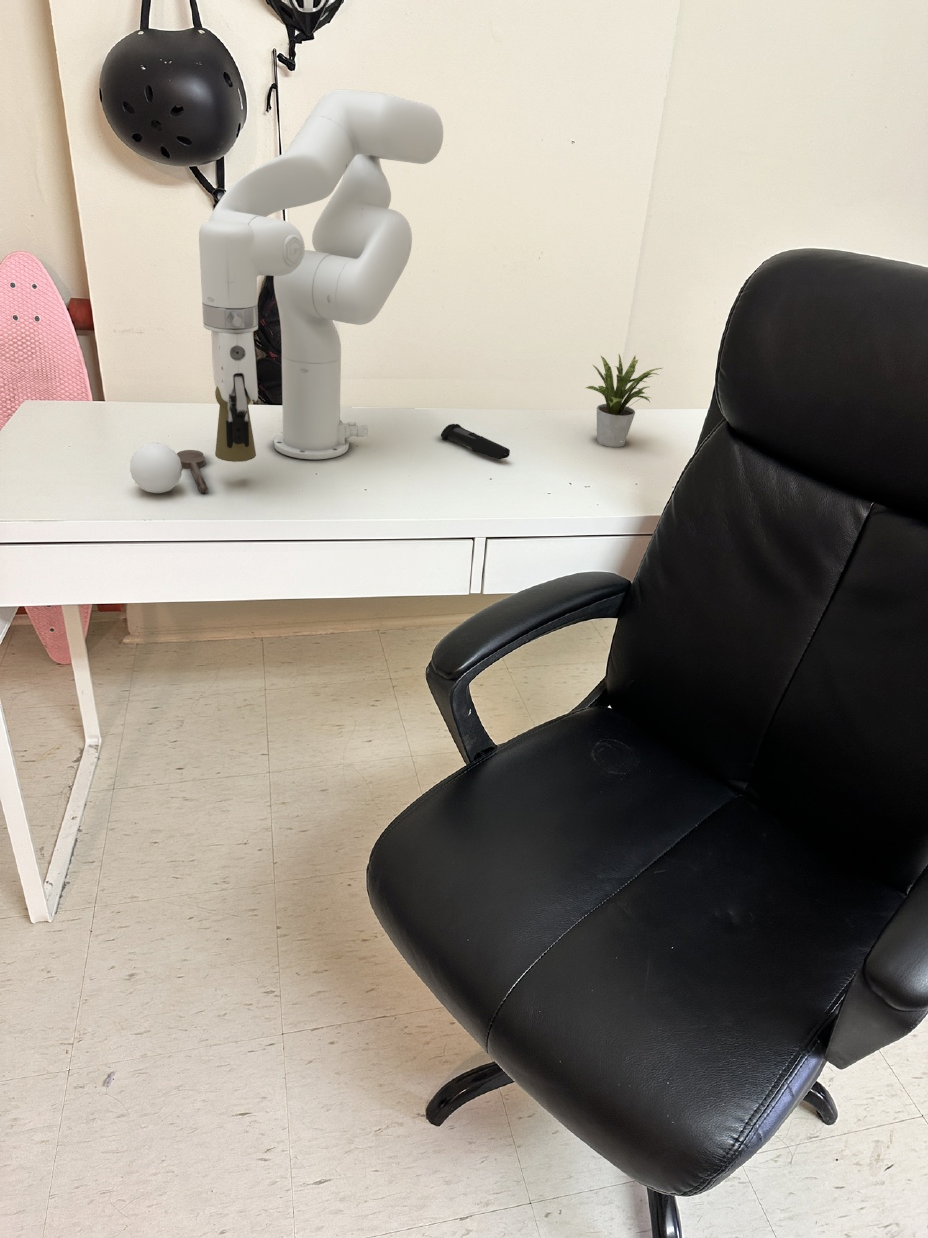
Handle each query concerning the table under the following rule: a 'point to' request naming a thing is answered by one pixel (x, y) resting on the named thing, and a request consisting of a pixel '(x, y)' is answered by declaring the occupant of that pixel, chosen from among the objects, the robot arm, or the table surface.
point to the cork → (222, 450)
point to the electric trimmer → (474, 442)
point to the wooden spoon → (194, 466)
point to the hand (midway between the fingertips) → (235, 440)
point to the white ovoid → (155, 468)
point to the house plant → (617, 403)
